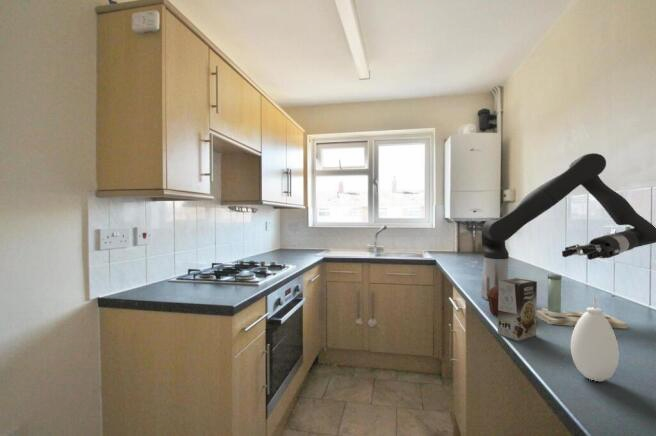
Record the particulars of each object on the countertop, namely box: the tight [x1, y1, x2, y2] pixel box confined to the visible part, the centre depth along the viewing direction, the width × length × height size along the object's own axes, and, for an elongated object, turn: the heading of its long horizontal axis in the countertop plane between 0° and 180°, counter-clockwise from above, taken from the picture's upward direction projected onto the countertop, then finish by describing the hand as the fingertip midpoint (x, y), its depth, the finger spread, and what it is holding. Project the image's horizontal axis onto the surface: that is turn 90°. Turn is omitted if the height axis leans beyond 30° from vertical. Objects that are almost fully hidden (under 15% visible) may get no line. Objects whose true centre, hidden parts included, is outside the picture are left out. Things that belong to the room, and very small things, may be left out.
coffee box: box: [497, 277, 538, 342], centre depth 90 cm, size 9×6×16 cm
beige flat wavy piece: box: [536, 309, 628, 329], centre depth 102 cm, size 22×10×2 cm, turn 81°
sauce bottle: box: [570, 296, 620, 382], centre depth 66 cm, size 8×8×18 cm
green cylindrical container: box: [541, 273, 567, 317], centre depth 103 cm, size 5×6×13 cm
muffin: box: [487, 285, 499, 317], centre depth 109 cm, size 12×11×10 cm
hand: (575, 255), depth 107 cm, fingers open, 8 cm apart
